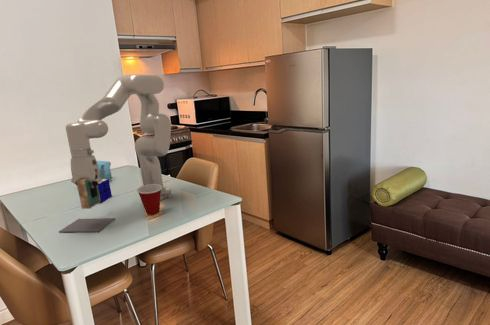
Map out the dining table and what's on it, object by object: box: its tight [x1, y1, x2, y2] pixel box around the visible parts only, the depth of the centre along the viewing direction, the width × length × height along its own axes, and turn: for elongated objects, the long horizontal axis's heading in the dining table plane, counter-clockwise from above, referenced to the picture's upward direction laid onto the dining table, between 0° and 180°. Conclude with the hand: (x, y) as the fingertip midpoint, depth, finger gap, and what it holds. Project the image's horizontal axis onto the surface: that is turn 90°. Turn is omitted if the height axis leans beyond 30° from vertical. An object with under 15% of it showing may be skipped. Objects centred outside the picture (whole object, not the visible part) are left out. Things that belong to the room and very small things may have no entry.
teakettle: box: [96, 160, 113, 180], centre depth 213 cm, size 19×19×15 cm
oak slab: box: [76, 179, 101, 210], centre depth 143 cm, size 4×8×12 cm, turn 170°
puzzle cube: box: [98, 179, 113, 204], centre depth 181 cm, size 10×10×10 cm
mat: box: [58, 217, 116, 234], centre depth 147 cm, size 18×13×1 cm
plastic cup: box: [136, 184, 162, 216], centre depth 154 cm, size 11×11×12 cm
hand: (89, 196), depth 143 cm, fingers closed on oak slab, 3 cm apart
